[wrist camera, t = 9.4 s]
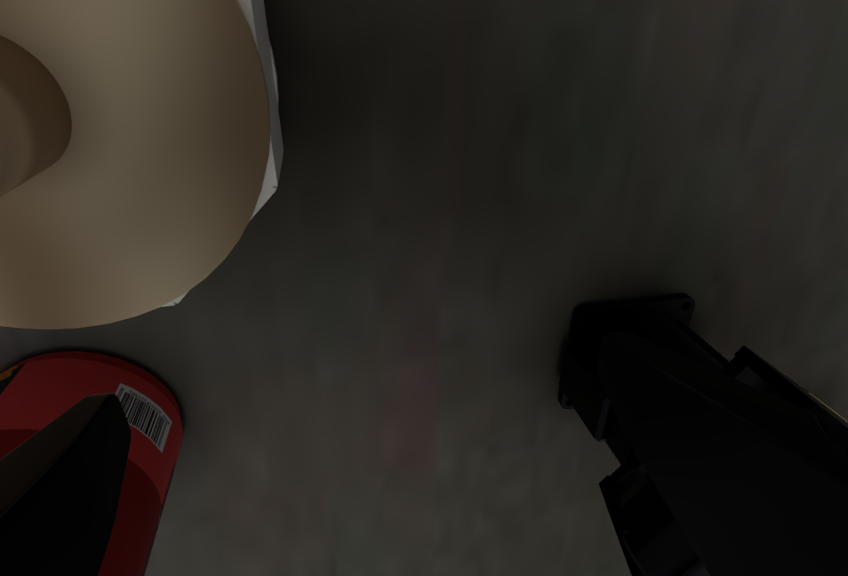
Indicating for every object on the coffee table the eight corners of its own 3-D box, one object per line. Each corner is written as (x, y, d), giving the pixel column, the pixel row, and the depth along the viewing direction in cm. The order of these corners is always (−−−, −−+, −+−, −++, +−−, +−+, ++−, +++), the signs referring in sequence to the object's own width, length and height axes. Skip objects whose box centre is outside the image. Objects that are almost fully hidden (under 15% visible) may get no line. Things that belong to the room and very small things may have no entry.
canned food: (-19, 329, 20) (-321, 628, 10) (199, 361, 22) (119, 622, 13) (-15, 467, 23) (-243, 794, 13) (176, 481, 25) (98, 762, 16)
